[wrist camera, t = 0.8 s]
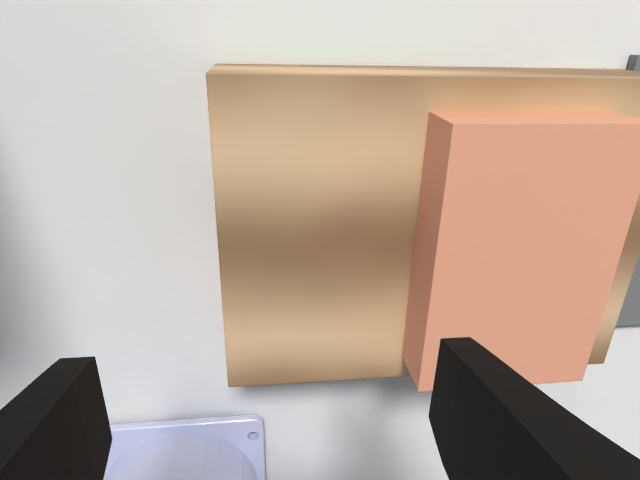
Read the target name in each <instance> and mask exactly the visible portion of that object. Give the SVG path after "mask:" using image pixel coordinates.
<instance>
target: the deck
mask: <svg viewBox="0 0 640 480" xmlns="http://www.w3.org/2000/svg"><path fill="white" fill-rule="evenodd" d="M206 82H207V96H208V110H209V124H210V138H211V152H212V166H213V180H214V194H215V208H216V222H217V236H218V250H219V264H220V278H221V292H222V306H223V320H224V334H225V348H226V362H227V376H228V387H240V386H256V385H272V384H287V383H303V382H319V381H334V380H350V379H366V378H381V377H397V376H411V375H410V373H409V370H408V368H407V366H406V363H405V361H404V359H403V357H402V350H403V341H404V332H405V323H406V314H407V305H408V296H409V286H410V277H411V268H412V259H413V250H414V241H415V232H416V223H417V214H418V205H419V196H420V187H421V178H422V169H423V160H424V151H425V142H426V133H427V124H428V115H429V111H540V112H616V113H620V114H624V115H628V116H632V117H636V118H640V72H638V71H630V70H623V69H574V68H495V67H417V66H339V65H260V64H215V65H214V66H213V67H212V68H211V69H210V70H209V71H208V72H207V73H206ZM639 252H640V193H639V197H638V200H637V203H636V206H635V210H634V213H633V216H632V220H631V223H630V226H629V229H628V233H627V236H626V239H625V242H624V246H623V249H622V252H621V256H620V259H619V262H618V265H617V269H616V272H615V275H614V278H613V282H612V285H611V288H610V292H609V295H608V298H607V301H606V305H605V308H604V311H603V314H602V318H601V321H600V324H599V328H598V331H597V334H596V337H595V341H594V344H593V347H592V350H591V354H590V357H589V360H588V364H601V363H604V361H605V357H606V354H607V351H608V348H609V345H610V342H611V339H612V336H613V333H614V329H615V326H616V323H617V320H618V317H619V314H620V311H621V308H622V305H623V302H624V298H625V295H626V292H627V289H628V286H629V283H630V280H631V277H632V274H633V271H634V267H635V264H636V261H637V258H638V255H639Z"/></svg>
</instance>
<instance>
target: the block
mask: <svg viewBox="0 0 640 480" xmlns="http://www.w3.org/2000/svg"><path fill="white" fill-rule="evenodd" d="M639 193H640V118H636V117H632V116H628V115H624V114H620V113H616V112H540V111H429V115H428V124H427V133H426V142H425V151H424V160H423V169H422V178H421V187H420V196H419V205H418V214H417V223H416V232H415V241H414V250H413V259H412V268H411V277H410V286H409V296H408V305H407V314H406V323H405V332H404V341H403V350H402V357H403V359H404V361H405V363H406V366H407V368H408V370H409V373H410V375H411V377H412V380H413V382H414V384H415V386H416V389H417V391H418V392H424V391H433V385H434V378H435V372H436V365H437V359H438V352H439V346H440V339H441V338H459V337H471V338H472V339H474V340H475V341H477V342H478V343H479V344H481V345H482V346H483V347H485V348H486V349H487V350H489V351H490V352H491V353H493V354H494V355H495V356H497V357H498V358H499V359H500V360H502V361H503V362H504V363H506V364H507V365H508V366H509V367H511V368H512V369H513V370H515V371H516V372H517V373H519V374H520V375H521V376H522V377H524V378H525V379H526V380H528V381H529V382H530V383H532V384H542V383H557V382H572V381H582V380H583V377H584V373H585V370H586V367H587V364H588V360H589V357H590V354H591V350H592V347H593V344H594V341H595V337H596V334H597V331H598V328H599V324H600V321H601V318H602V314H603V311H604V308H605V305H606V301H607V298H608V295H609V292H610V288H611V285H612V282H613V278H614V275H615V272H616V269H617V265H618V262H619V259H620V256H621V252H622V249H623V246H624V242H625V239H626V236H627V233H628V229H629V226H630V223H631V220H632V216H633V213H634V210H635V206H636V203H637V200H638V197H639Z"/></svg>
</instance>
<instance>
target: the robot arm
mask: <svg viewBox="0 0 640 480" xmlns="http://www.w3.org/2000/svg"><path fill="white" fill-rule="evenodd" d="M429 419H430V423H431V426H432V430H433V433H434V437H435V440H436V444H437V447H438V450H439V453H440V457H441V460H442V463H443V466H444V468H445V471H446V473H447V476H448V478H449V480H640V459H638V458H637V457H635V456H634V455H632V454H631V453H629V452H627V451H626V450H624V449H623V448H621V447H620V446H618V445H617V444H615V443H614V442H613V441H611V440H610V439H608V438H607V437H605V436H604V435H602V434H601V433H599V432H598V431H596V430H595V429H593V428H592V427H590V426H589V425H587V424H586V423H585V422H583V421H582V420H580V419H579V418H578V417H576V416H575V415H573V414H572V413H571V412H569V411H568V410H566V409H565V408H564V407H562V406H561V405H560V404H558V403H557V402H555V401H554V400H553V399H551V398H550V397H549V396H547V395H546V394H545V393H543V392H542V391H541V390H539V389H538V388H537V387H535V386H534V385H533V384H532V383H530V382H529V381H528V380H526V379H525V378H524V377H522V376H521V375H520V374H519V373H517V372H516V371H515V370H513V369H512V368H511V367H509V366H508V365H507V364H506V363H504V362H503V361H502V360H500V359H499V358H498V357H497V356H495V355H494V354H493V353H491V352H490V351H489V350H487V349H486V348H485V347H483V346H482V345H481V344H479V343H478V342H477V341H475V340H474V339H472V338H471V337H459V338H441V339H440V346H439V352H438V359H437V365H436V372H435V378H434V385H433V391H432V397H431V404H430V410H429ZM251 432H256V433H255V434H251ZM0 480H265V451H264V423H263V419H262V418H261V417H260V416H258V415H253V414H252V415H238V416H224V417H210V418H196V419H181V420H167V421H153V422H139V423H125V424H111V425H109V420H108V415H107V411H106V406H105V401H104V397H103V392H102V388H101V383H100V378H99V374H98V369H97V364H96V360H95V357H79V358H60V359H59V360H58V361H56V362H55V363H54V364H53V365H52V366H50V367H49V368H48V369H47V370H46V371H44V372H43V373H42V374H41V375H40V376H39V377H38V378H36V379H35V380H34V381H33V382H32V383H31V384H30V385H28V386H27V387H26V388H25V389H24V390H23V391H22V392H20V393H19V394H18V395H17V396H16V397H15V398H14V399H12V400H11V401H10V402H9V403H8V404H7V405H6V406H5V407H3V408H2V409H1V410H0Z"/></svg>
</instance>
